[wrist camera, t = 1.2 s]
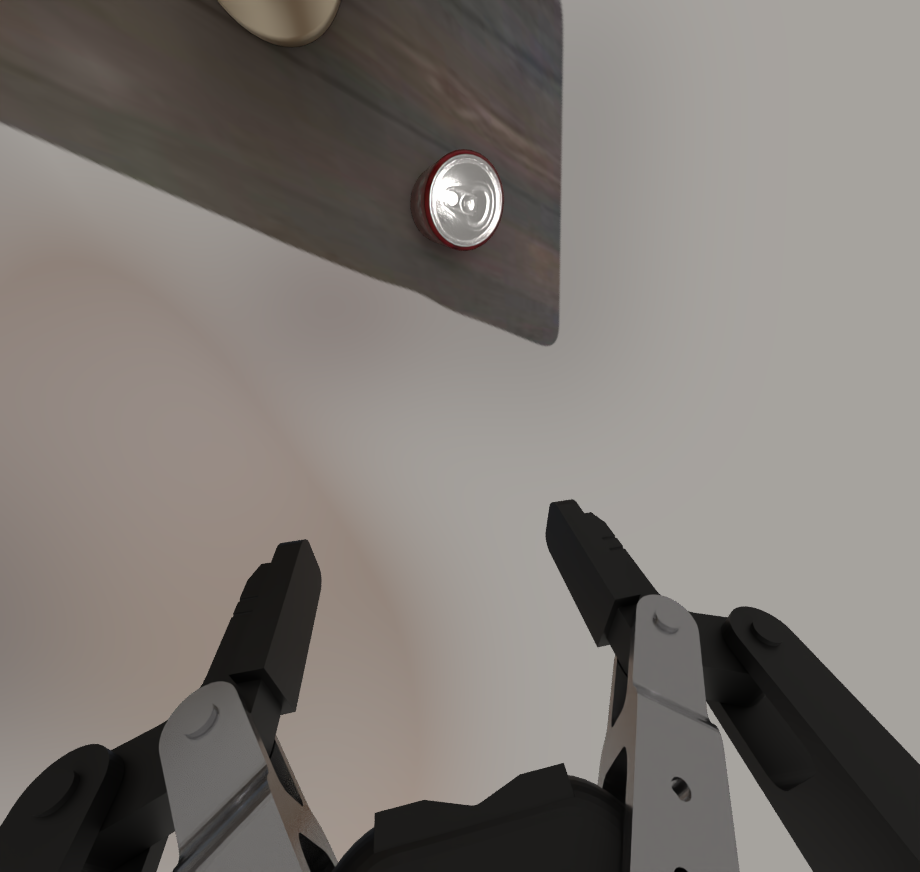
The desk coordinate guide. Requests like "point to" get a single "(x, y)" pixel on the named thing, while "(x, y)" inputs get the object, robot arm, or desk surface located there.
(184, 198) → the desk surface
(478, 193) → the soda can
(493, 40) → the desk surface
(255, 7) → the beige tall cylinder
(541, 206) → the desk surface
